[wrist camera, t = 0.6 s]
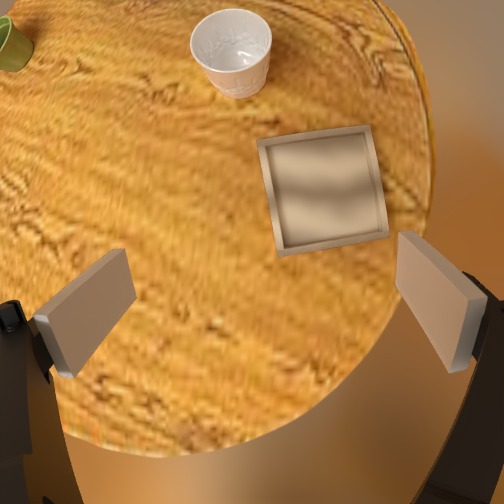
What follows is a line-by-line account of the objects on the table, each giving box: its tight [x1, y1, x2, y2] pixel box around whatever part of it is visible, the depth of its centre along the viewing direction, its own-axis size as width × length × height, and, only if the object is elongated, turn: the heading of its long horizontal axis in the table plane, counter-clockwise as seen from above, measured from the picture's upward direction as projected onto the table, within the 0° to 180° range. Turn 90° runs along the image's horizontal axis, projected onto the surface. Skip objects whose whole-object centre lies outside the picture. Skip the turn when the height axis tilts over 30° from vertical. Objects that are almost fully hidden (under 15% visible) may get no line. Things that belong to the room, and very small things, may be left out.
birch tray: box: [256, 124, 390, 257], centre depth 36 cm, size 13×13×2 cm
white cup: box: [190, 8, 272, 99], centre depth 31 cm, size 8×8×10 cm
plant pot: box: [0, 16, 33, 72], centre depth 32 cm, size 9×9×9 cm
